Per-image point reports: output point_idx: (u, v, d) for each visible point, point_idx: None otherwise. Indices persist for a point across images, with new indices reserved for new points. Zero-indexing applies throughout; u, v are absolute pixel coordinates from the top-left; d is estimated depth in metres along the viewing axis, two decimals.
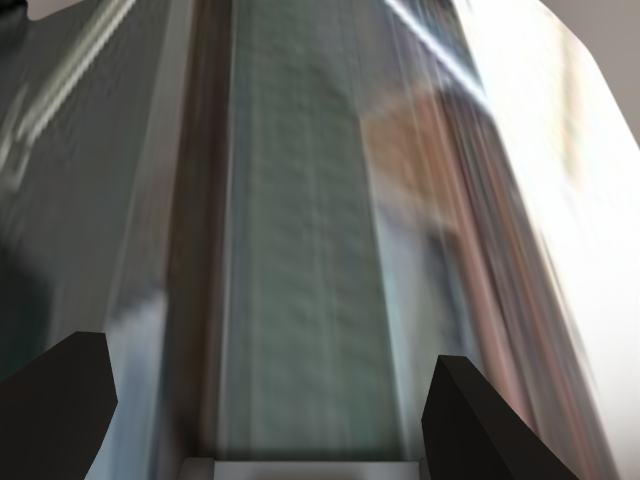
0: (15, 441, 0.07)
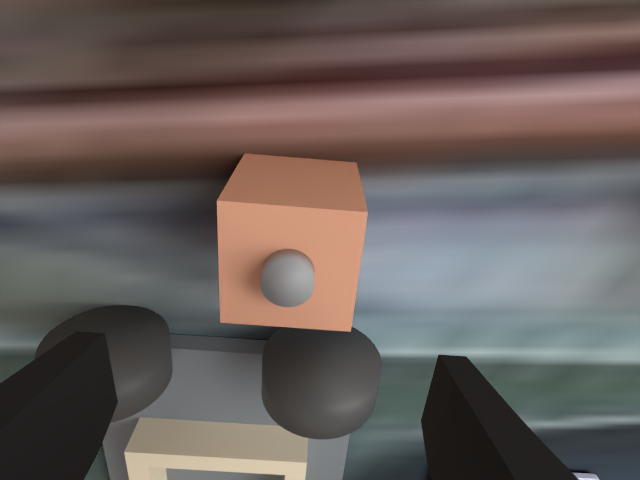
0: (15, 441, 0.07)
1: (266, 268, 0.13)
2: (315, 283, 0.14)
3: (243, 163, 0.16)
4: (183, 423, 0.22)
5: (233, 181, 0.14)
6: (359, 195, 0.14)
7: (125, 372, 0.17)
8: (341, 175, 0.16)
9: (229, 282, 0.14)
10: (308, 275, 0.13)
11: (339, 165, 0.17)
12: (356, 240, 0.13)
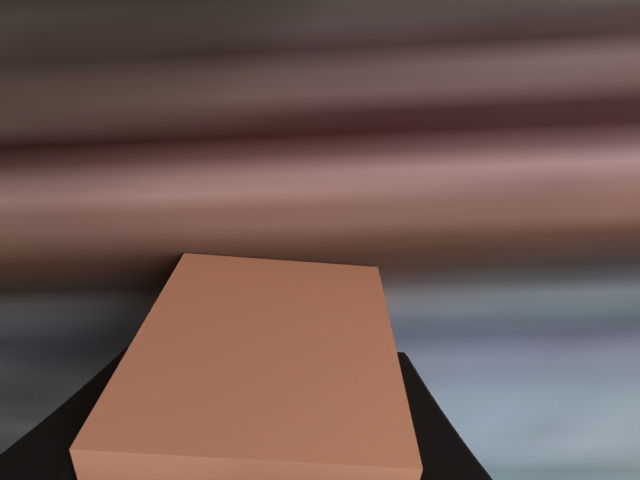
0: None
1: None
2: None
3: (173, 286, 0.09)
4: None
5: (136, 354, 0.07)
6: (395, 387, 0.07)
7: None
8: (354, 312, 0.08)
9: None
10: None
11: (350, 279, 0.09)
12: None
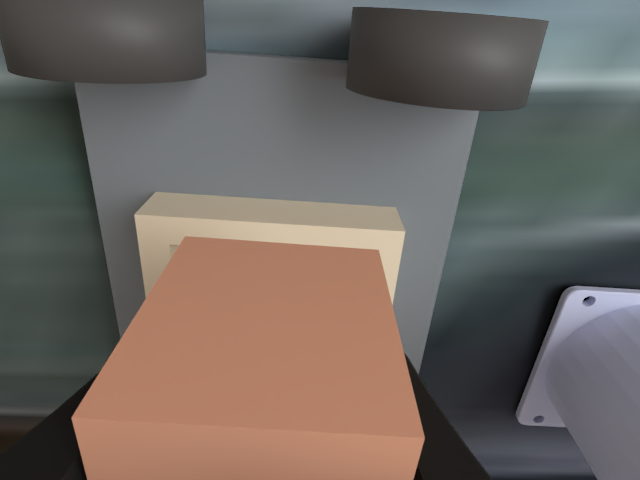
0: None
1: None
2: None
3: (174, 267, 0.09)
4: (218, 198, 0.15)
5: (137, 330, 0.07)
6: (397, 362, 0.07)
7: None
8: (355, 292, 0.08)
9: None
10: None
11: (351, 260, 0.09)
12: None
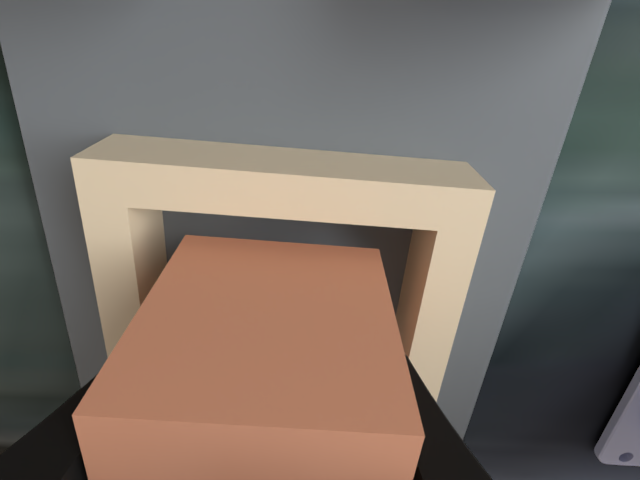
0: None
1: None
2: None
3: (175, 265, 0.09)
4: (205, 143, 0.10)
5: (138, 328, 0.07)
6: (397, 360, 0.07)
7: None
8: (356, 291, 0.08)
9: None
10: None
11: (351, 259, 0.09)
12: None
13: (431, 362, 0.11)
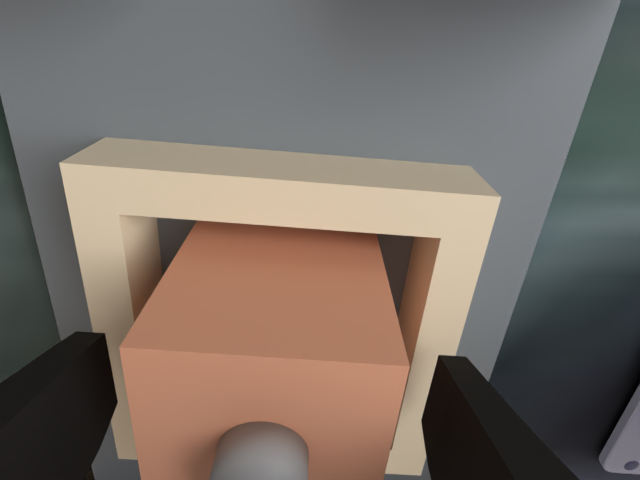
0: (15, 441, 0.07)
1: (216, 472, 0.07)
2: (310, 470, 0.08)
3: (194, 237, 0.10)
4: (201, 147, 0.10)
5: (166, 285, 0.08)
6: (388, 312, 0.08)
7: None
8: (353, 259, 0.09)
9: (157, 468, 0.08)
10: None
11: (349, 235, 0.11)
12: (386, 409, 0.07)
13: None
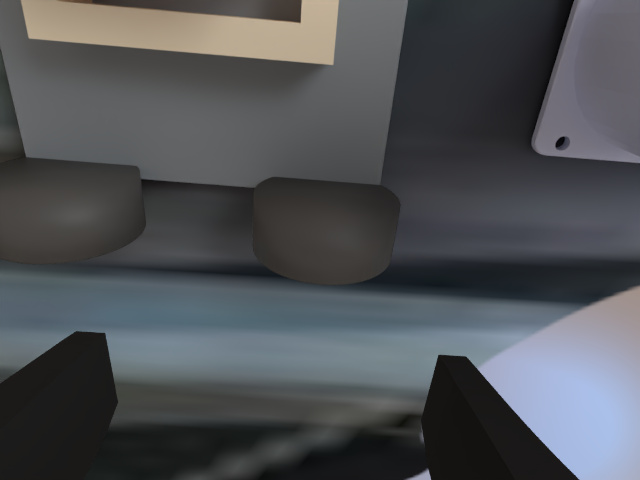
0: (15, 441, 0.07)
1: None
2: None
3: None
4: None
5: None
6: None
7: None
8: None
9: None
10: None
11: None
12: None
13: None
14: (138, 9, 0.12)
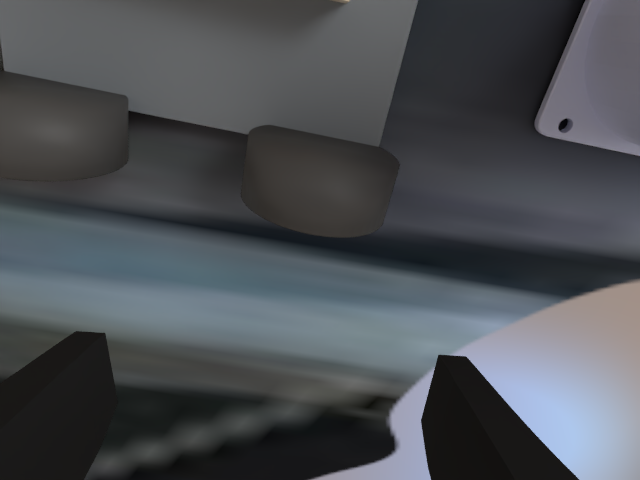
0: (15, 441, 0.07)
1: None
2: None
3: None
4: None
5: None
6: None
7: None
8: None
9: None
10: None
11: None
12: None
13: None
14: None
